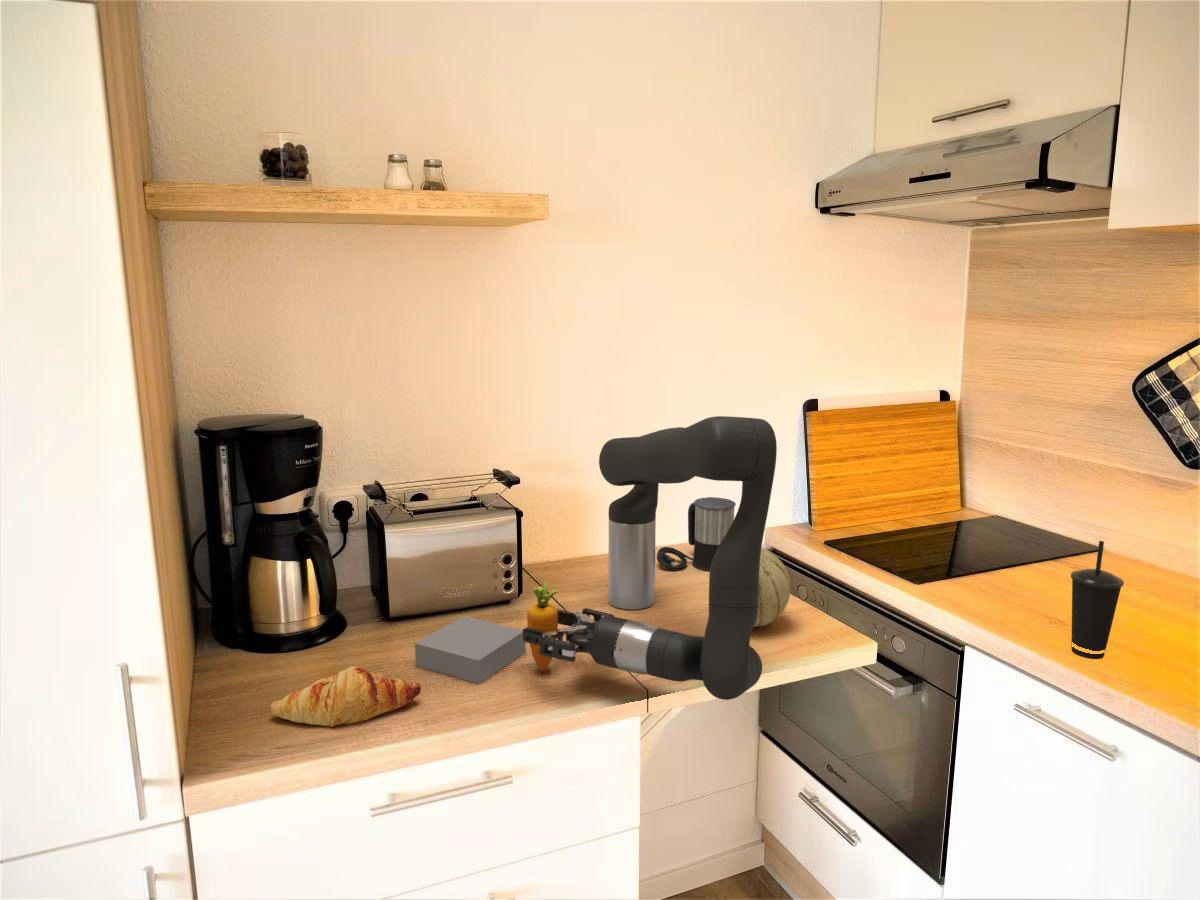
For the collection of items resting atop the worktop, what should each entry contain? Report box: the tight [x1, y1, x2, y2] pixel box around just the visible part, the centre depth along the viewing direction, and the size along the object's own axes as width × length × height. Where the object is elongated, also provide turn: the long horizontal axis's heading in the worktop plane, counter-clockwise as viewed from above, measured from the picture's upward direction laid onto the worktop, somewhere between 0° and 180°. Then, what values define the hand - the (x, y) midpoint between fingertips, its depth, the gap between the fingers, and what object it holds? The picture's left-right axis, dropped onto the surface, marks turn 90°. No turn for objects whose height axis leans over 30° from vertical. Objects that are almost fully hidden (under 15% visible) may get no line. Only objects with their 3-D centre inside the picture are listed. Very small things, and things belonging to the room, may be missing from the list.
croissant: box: [270, 665, 422, 728], centre depth 119 cm, size 21×10×8 cm, turn 105°
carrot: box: [526, 582, 559, 673], centre depth 130 cm, size 5×5×15 cm
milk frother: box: [656, 496, 737, 572], centre depth 181 cm, size 14×16×15 cm
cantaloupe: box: [753, 547, 792, 628], centre depth 149 cm, size 15×15×15 cm
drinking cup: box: [1070, 540, 1125, 660], centre depth 137 cm, size 8×8×20 cm
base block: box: [414, 615, 526, 685], centre depth 136 cm, size 13×13×4 cm
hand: (538, 624), depth 130 cm, fingers open, 8 cm apart
